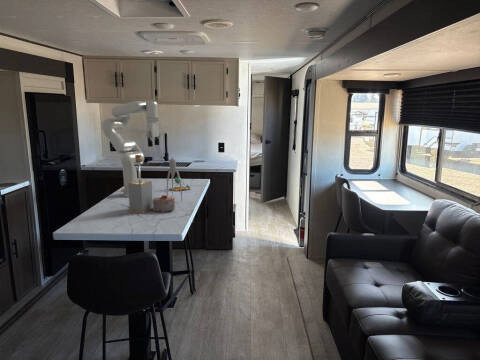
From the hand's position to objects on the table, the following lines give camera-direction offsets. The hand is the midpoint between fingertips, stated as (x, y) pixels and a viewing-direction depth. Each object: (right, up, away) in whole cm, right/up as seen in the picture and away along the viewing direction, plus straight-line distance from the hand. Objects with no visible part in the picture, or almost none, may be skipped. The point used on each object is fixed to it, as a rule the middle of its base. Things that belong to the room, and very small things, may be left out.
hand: (153, 145), depth 243 cm
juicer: (+14, -38, +5) cm, 41 cm away
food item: (+11, -43, -18) cm, 48 cm away
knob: (-4, -32, -19) cm, 38 cm away
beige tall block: (-4, -42, -17) cm, 46 cm away
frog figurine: (+11, -31, +37) cm, 50 cm away
